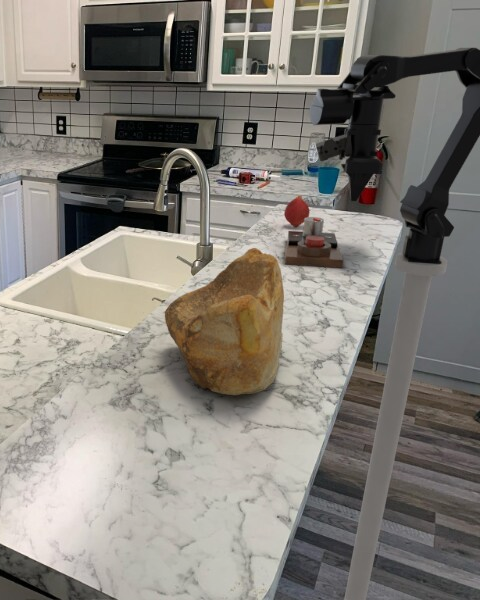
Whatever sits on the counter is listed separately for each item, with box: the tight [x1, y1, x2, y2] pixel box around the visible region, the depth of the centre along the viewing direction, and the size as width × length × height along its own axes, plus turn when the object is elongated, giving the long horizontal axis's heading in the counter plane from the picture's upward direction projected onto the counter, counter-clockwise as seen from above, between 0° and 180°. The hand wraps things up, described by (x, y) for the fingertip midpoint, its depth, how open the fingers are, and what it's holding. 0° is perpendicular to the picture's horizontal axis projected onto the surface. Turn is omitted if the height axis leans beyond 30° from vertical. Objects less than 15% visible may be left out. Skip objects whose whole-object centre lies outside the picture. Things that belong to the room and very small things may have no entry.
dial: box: [302, 216, 325, 238], centre depth 135 cm, size 4×4×4 cm
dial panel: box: [286, 230, 338, 248], centre depth 136 cm, size 10×8×3 cm
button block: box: [284, 240, 344, 269], centre depth 128 cm, size 11×8×4 cm
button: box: [305, 236, 324, 247], centre depth 127 cm, size 4×4×2 cm
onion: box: [284, 194, 310, 228], centre depth 151 cm, size 6×6×8 cm
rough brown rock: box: [164, 247, 285, 396], centre depth 86 cm, size 23×17×15 cm
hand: (353, 200), depth 127 cm, fingers closed
